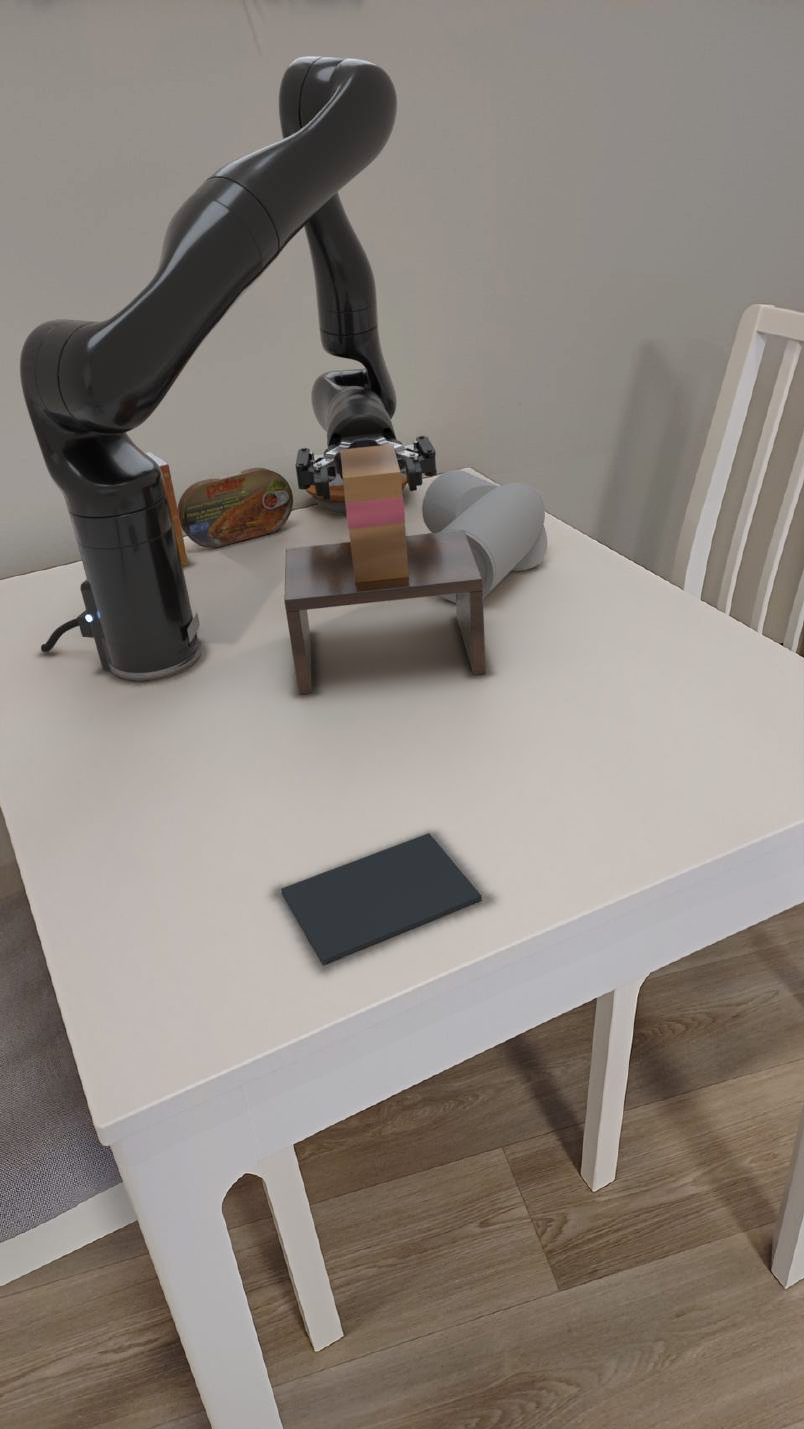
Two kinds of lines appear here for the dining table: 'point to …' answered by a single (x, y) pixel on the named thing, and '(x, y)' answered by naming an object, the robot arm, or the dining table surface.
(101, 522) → the robot arm
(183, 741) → the dining table surface
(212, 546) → the tin
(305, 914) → the mat
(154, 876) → the dining table surface
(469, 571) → the shelf
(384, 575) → the block
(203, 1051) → the dining table surface
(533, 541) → the bent grey cylinder
